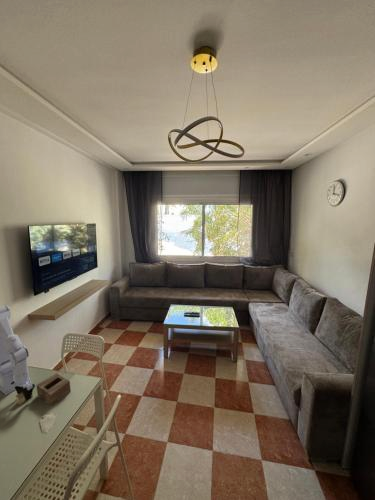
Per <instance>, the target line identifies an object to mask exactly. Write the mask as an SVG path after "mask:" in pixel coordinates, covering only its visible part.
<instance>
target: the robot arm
mask: <svg viewBox="0 0 375 500" xmlns="http://www.w3.org/2000/svg"><path fill="white" fill-rule="evenodd" d="M11 315H12V311H11V308H10V307H9V305H5V304H4V306H0V391H1V393H3V394H4V395H6V396H7V395H9V394H11V393H12V392H14V391H16V393H17V394H16V395H18V394H20V393H21V392H22V393H23V395H24V398H25V400H26V401H25V402H28V401H29V400H31V399H32V397H31V396H32V394H33V391H34V389H35V386H36V385H35V384H34V383H32V381H31V377H30V375H29V366H28V365H29V364H28V357H29V356H30V353H29V350H28V348H27V347H26V346H25V344H23V343H22V342H21V339H20V337H19V335H18V334H14V330H13V328H12V325H11V321H10V319H11Z"/></svg>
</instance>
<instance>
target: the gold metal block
mask: <svg viewBox="0 0 375 500" xmlns="http://www.w3.org/2000/svg"><path fill="white" fill-rule="evenodd" d="M32 397H34V396H33V393H32V396H31V398H32ZM15 400H16V403H17V404H18V405H19V406H20V405H22V404H23V403H25V402H27V401H26V400H25V398H24V395H23V393H22V392H21V393H20V394H16V395H15Z"/></svg>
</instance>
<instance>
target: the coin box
mask: <svg viewBox="0 0 375 500" xmlns="http://www.w3.org/2000/svg"><path fill="white" fill-rule="evenodd" d="M36 392H37V396H38V397H39V398H40V399H42V400H43V401H45V402H46V403H47V404H48V405H50V406H53V405H54V404H55V403H57V402H58V401H59V400H61V399H62V398H64V397H65V396H67V395H68V394H69V393H70V392H71V382H70V380H68V379H66V377H63V376H61V374H59V373H57V372H56V373H54V374H52V375H50V376H49V377H47V378H46V379H44V380H42V381H41V382H39V383H38V384H36Z"/></svg>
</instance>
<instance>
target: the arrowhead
mask: <svg viewBox="0 0 375 500" xmlns="http://www.w3.org/2000/svg"><path fill="white" fill-rule="evenodd" d="M57 416H58V414H57V413H56V414H55V412H51V413H50V414H44V415H42V419H40V420H39V424H40V431H41V432H42V434H44V435H46V434H48V433H49V432H50V430H52V429H53V427H54V424H55V422H56V419H57V418H58V417H57Z"/></svg>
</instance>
